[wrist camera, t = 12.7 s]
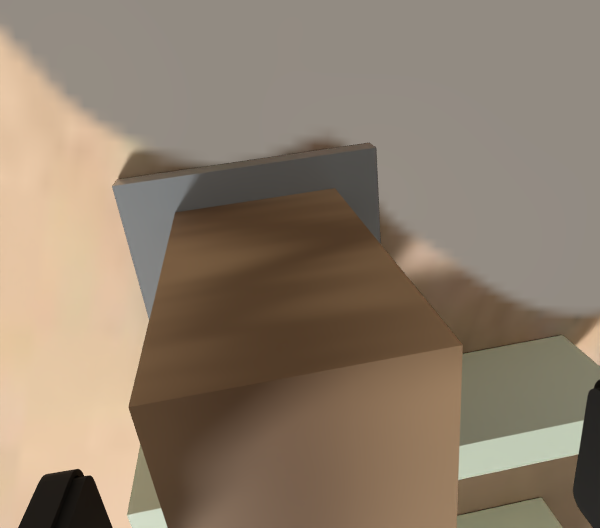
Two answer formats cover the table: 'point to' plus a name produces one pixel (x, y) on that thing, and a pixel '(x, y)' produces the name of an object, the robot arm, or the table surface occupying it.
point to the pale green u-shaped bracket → (487, 425)
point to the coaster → (238, 196)
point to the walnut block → (295, 376)
